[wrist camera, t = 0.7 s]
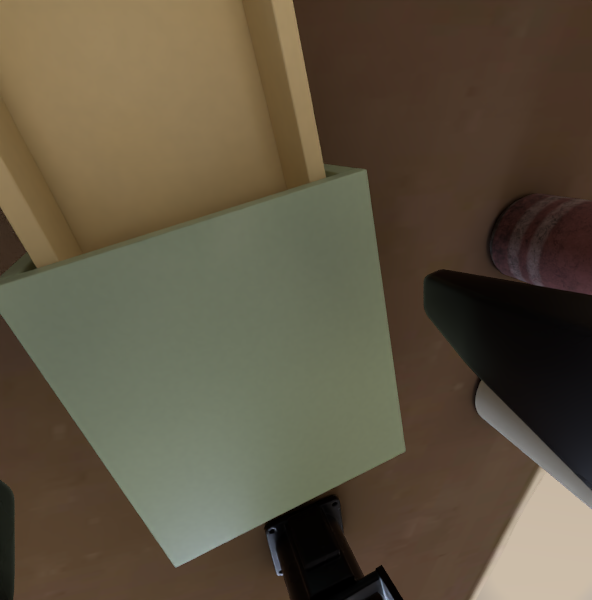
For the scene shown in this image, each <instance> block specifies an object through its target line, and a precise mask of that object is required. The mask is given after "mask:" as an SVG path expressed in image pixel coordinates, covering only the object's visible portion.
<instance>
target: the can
mask: <svg viewBox="0 0 592 600" xmlns="http://www.w3.org/2000/svg"><path fill="white" fill-rule="evenodd" d="M490 254H491V257H492V260H493V262H494V264H495V266H496V267H497V268H498V269H499V270H500V272H501V273H503V274H505V275H508V276H511V277H513V278H516V279H519V280H521V281H524V282H527V283H529V284H532V285H537V286H543V287H549V288H554V289H560V290H566V291H572V292H577V293H583V294H589V295H592V201H591V200H584V199H576V198H569V197H562V196H554V195H547V194H531V195H528V196H526V197H523V198H521V199H519V200H517V201H515V202H514V203H513V204H511V205H510V206H509V207H508V208H506V209H505V211H504V212H503V213H502V214H501V216H500V217H499V218H498V220H497V222H496V224H495V226H494V228H493V230H492V235H491V239H490Z"/></svg>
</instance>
